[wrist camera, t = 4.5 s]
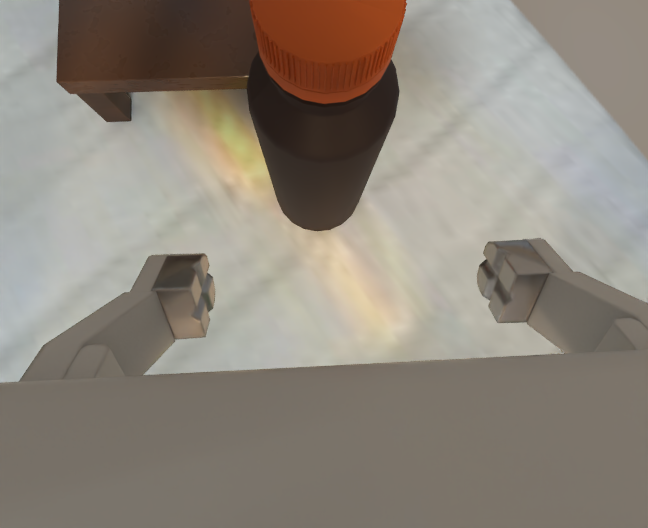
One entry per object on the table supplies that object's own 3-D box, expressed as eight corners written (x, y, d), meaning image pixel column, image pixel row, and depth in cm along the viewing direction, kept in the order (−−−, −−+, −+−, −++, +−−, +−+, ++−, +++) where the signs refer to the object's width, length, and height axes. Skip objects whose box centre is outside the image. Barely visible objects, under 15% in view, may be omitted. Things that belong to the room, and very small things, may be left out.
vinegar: (359, 154, 32) (437, -100, 12) (358, 233, 31) (439, 100, 11) (278, 151, 32) (223, -113, 12) (275, 230, 31) (209, 90, 11)
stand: (104, 124, 32) (55, 81, 26) (107, -38, 33) (62, -113, 27) (284, 118, 32) (278, 75, 26) (278, -41, 34) (271, -115, 28)
